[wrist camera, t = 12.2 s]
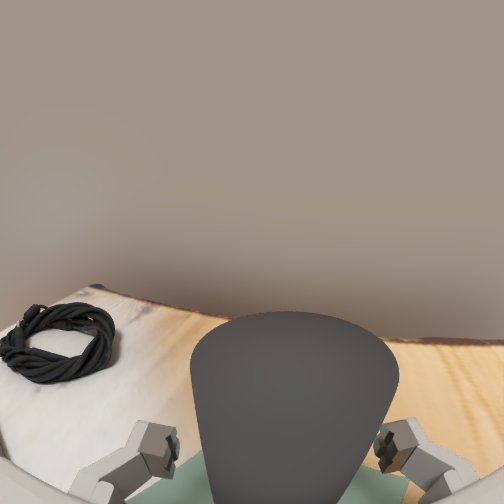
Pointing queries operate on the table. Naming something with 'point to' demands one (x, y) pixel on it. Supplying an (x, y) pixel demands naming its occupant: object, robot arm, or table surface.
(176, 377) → the table surface
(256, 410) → the dark grey cylinder
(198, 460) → the pad
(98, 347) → the cable
